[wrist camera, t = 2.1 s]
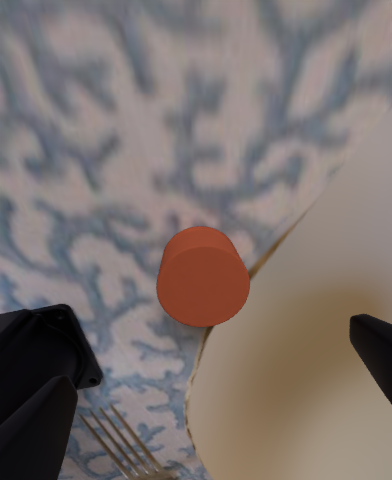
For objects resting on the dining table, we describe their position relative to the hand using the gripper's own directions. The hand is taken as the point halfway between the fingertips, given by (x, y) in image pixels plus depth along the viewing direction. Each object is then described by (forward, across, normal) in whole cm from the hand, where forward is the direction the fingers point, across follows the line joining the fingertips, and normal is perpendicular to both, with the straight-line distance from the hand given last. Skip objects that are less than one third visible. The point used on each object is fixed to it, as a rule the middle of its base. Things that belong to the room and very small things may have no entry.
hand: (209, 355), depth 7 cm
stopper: (+7, 0, 0) cm, 7 cm away
